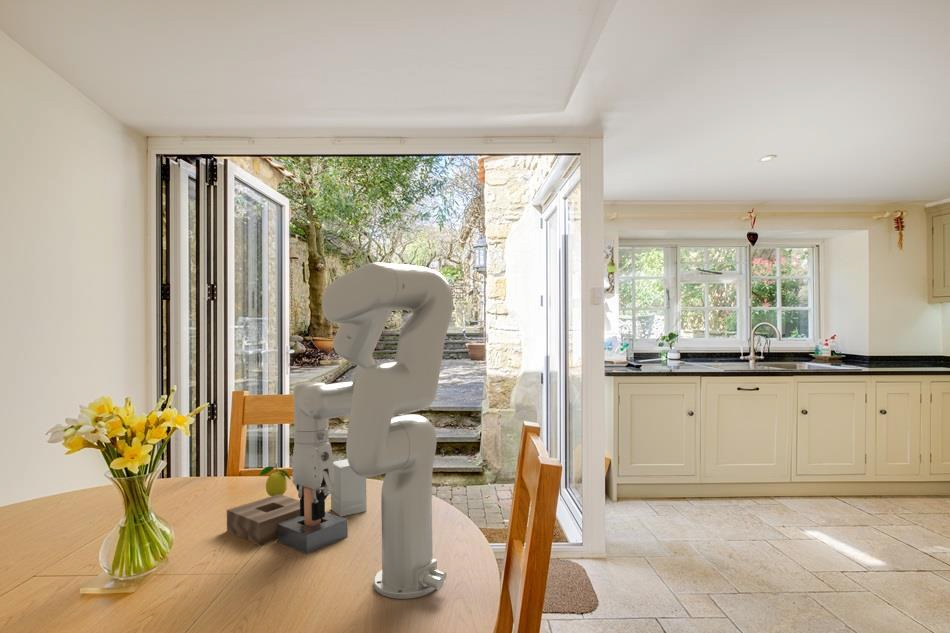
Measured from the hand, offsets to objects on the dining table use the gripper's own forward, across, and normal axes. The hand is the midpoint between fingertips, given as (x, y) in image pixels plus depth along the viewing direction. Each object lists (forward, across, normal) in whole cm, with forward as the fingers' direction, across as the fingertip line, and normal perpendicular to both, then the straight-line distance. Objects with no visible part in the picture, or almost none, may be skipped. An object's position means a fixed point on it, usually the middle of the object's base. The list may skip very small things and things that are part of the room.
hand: (312, 515), depth 121 cm
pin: (+5, 0, 0) cm, 5 cm away
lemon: (+6, +32, -11) cm, 34 cm away
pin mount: (+5, 0, 0) cm, 5 cm away
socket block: (+5, +14, +2) cm, 15 cm away
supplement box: (+6, +8, -17) cm, 20 cm away
